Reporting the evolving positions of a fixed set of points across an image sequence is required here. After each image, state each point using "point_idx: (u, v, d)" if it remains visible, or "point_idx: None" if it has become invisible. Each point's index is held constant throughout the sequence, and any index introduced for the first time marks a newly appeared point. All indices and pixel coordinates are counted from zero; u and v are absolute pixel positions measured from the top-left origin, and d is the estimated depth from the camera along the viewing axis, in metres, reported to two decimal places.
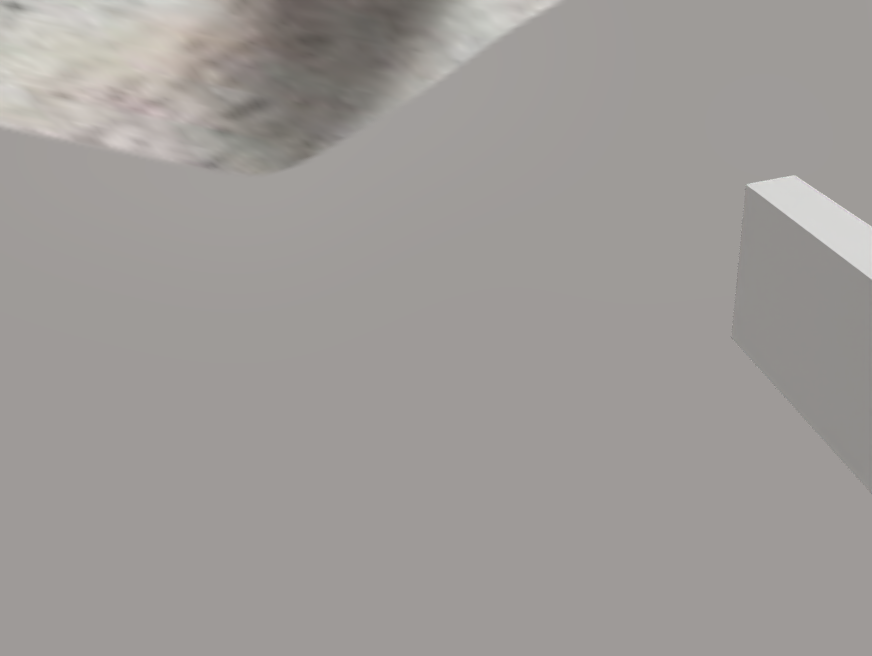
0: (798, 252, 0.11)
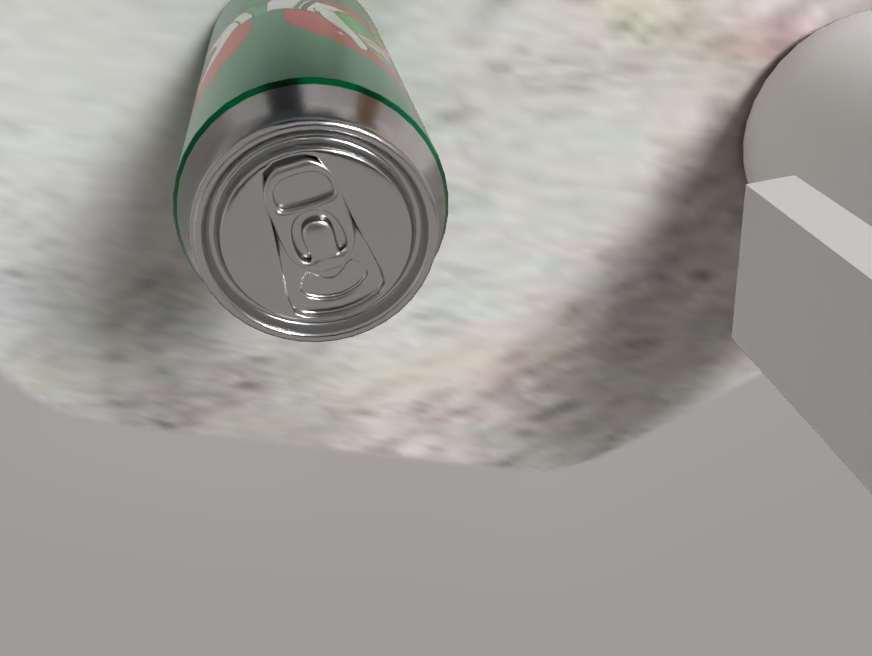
0: (798, 252, 0.11)
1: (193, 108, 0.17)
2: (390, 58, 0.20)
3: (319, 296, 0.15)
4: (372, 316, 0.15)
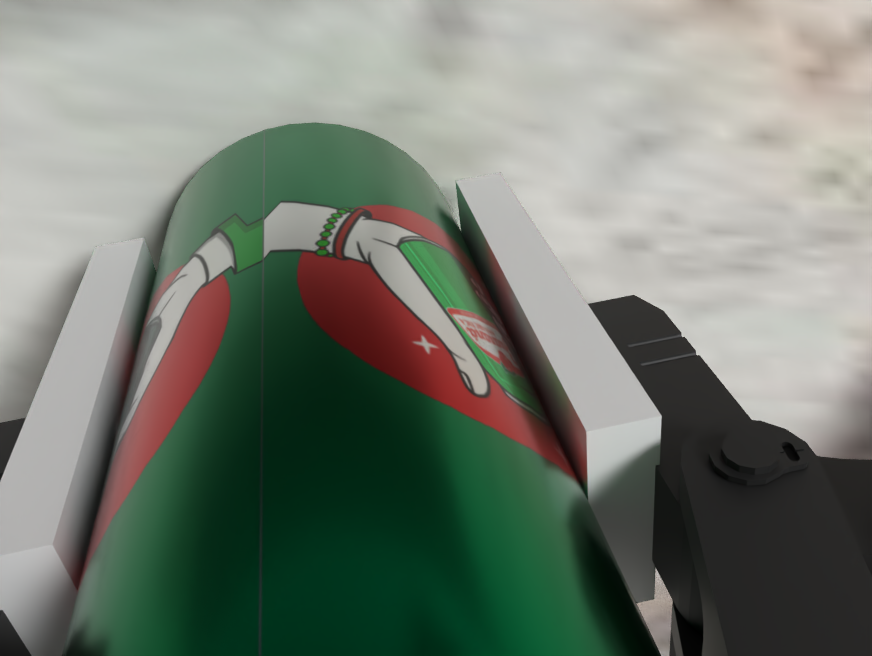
0: (477, 240, 0.12)
1: (95, 526, 0.07)
2: (499, 315, 0.10)
3: None
4: None
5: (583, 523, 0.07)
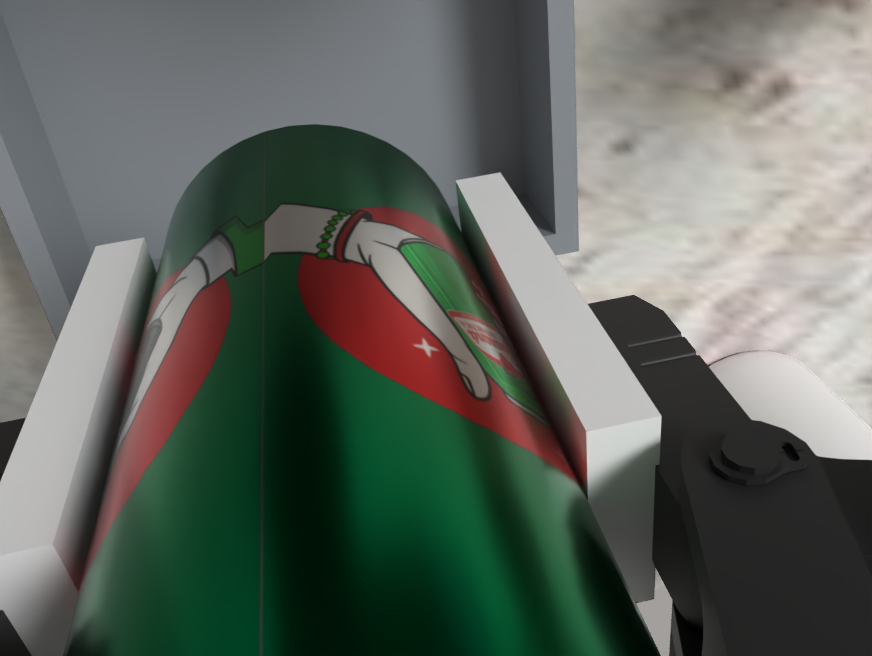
0: (477, 240, 0.12)
1: (95, 530, 0.07)
2: (499, 318, 0.10)
3: None
4: None
5: (584, 527, 0.07)
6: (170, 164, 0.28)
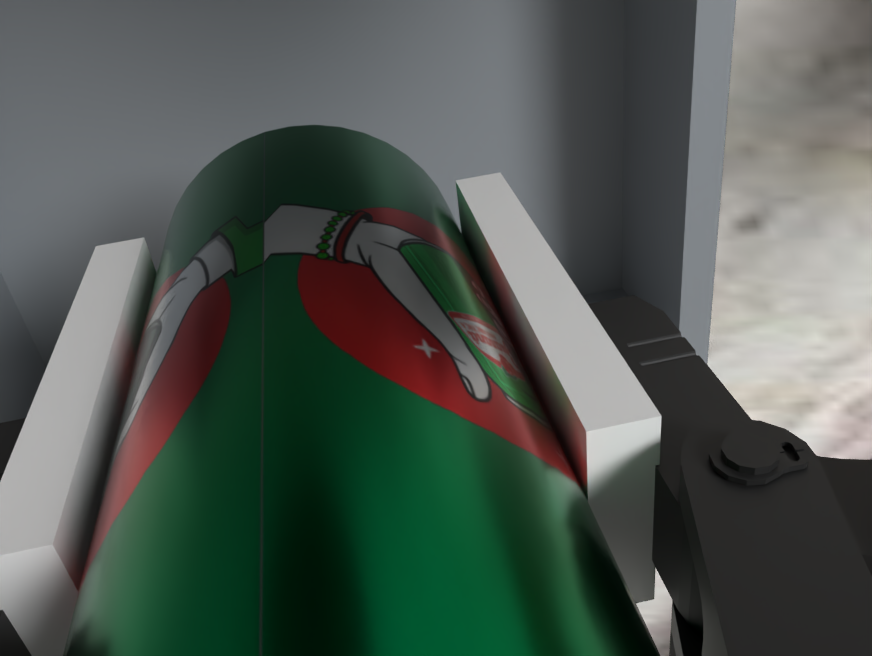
0: (477, 240, 0.12)
1: (95, 531, 0.07)
2: (500, 318, 0.10)
3: None
4: None
5: (585, 528, 0.07)
6: (154, 265, 0.21)
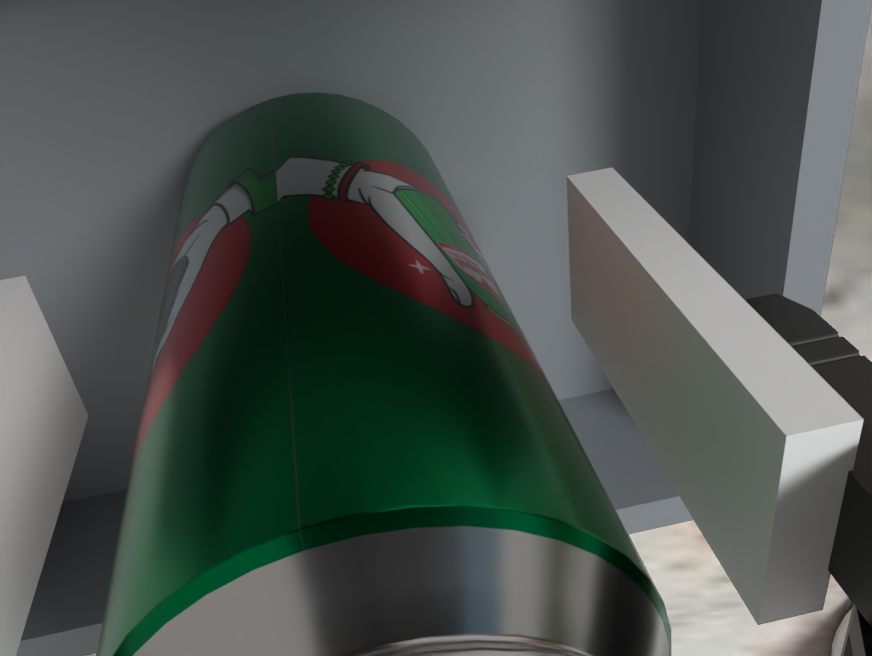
0: (599, 237, 0.12)
1: (142, 420, 0.09)
2: (482, 257, 0.12)
3: None
4: None
5: (551, 404, 0.08)
6: (129, 362, 0.17)
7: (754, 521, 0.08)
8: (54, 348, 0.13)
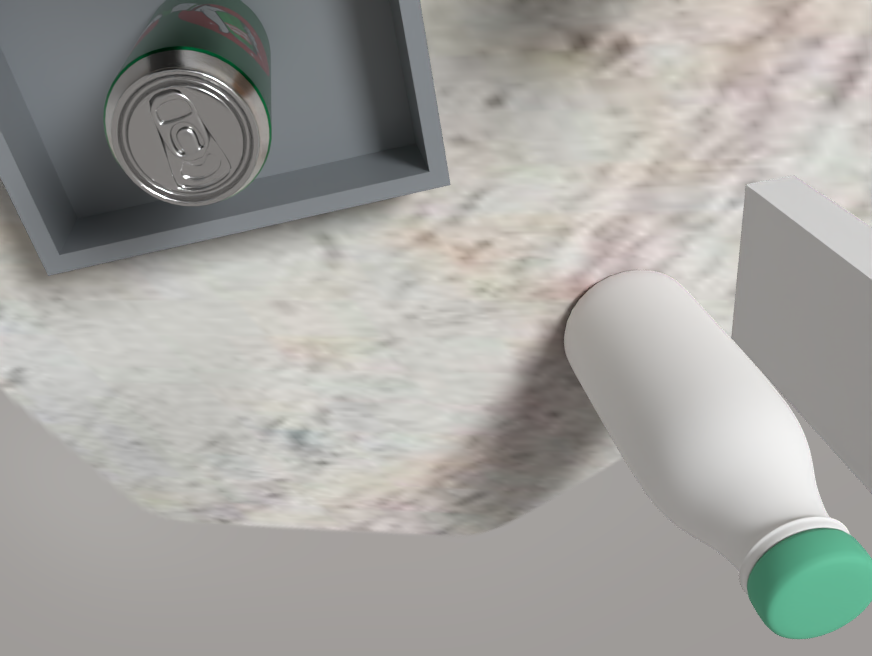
0: (798, 252, 0.11)
1: None
2: (256, 40, 0.30)
3: (194, 178, 0.25)
4: (227, 189, 0.26)
5: (243, 54, 0.26)
6: None
7: None
8: None
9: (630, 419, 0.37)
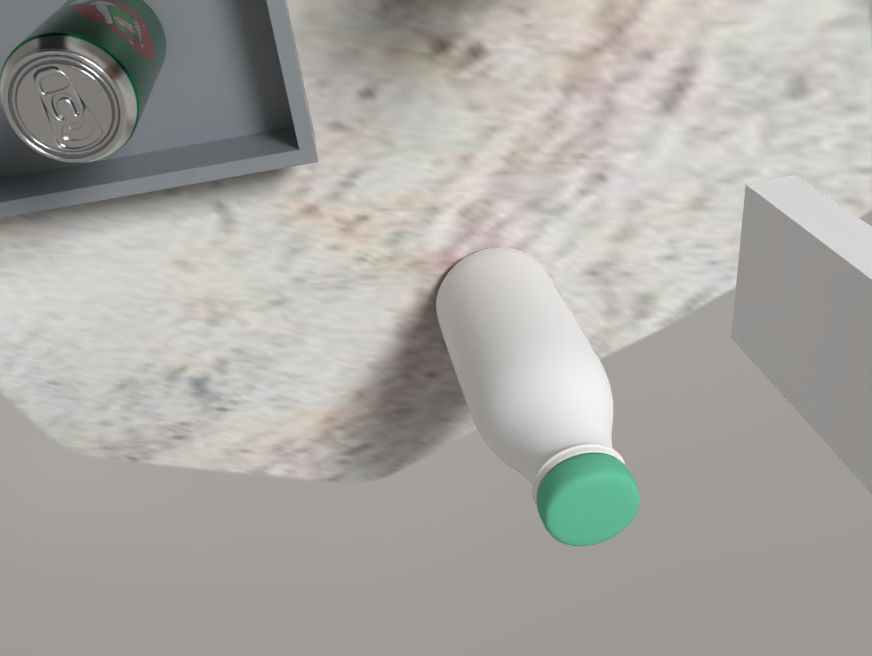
0: (798, 252, 0.11)
1: None
2: (143, 30, 0.36)
3: (73, 139, 0.32)
4: (100, 150, 0.32)
5: (120, 42, 0.33)
6: None
7: None
8: None
9: (468, 369, 0.44)
